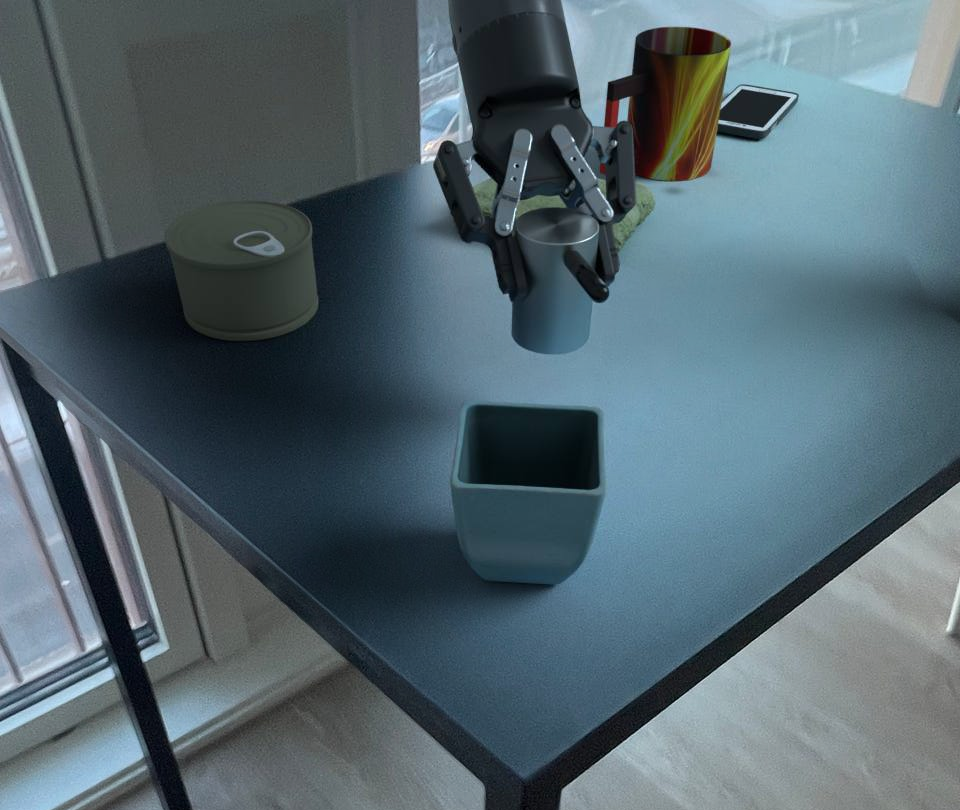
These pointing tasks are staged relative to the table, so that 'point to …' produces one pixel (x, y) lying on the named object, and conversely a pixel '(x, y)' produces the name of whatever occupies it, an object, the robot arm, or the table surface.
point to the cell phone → (754, 110)
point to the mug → (672, 101)
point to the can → (244, 269)
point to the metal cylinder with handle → (557, 280)
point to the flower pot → (527, 488)
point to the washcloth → (621, 230)
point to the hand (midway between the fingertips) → (563, 290)
